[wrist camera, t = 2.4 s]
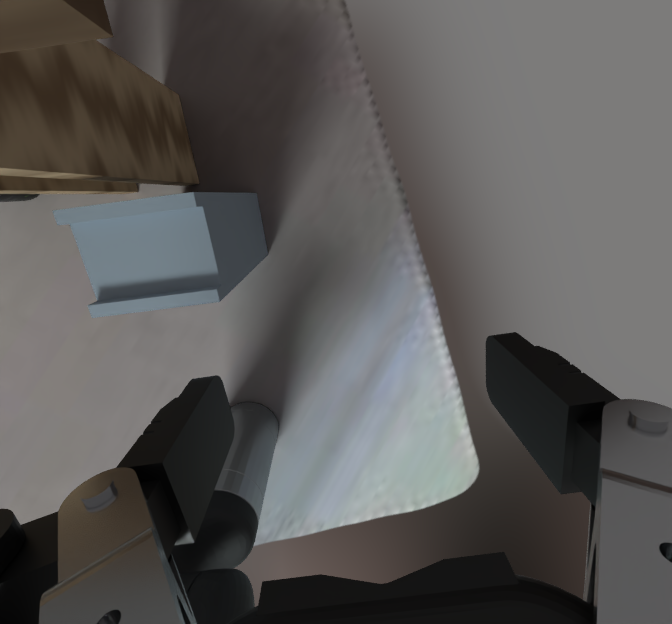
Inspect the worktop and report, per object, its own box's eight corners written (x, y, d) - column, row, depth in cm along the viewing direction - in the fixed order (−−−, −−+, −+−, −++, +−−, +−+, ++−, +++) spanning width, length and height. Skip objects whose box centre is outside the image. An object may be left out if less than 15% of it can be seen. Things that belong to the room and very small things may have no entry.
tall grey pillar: (268, 254, 48) (219, 301, 27) (196, 263, 48) (92, 317, 27) (256, 192, 45) (193, 192, 24) (180, 203, 45) (52, 210, 24)
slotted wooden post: (199, 183, 45) (-75, 162, 14) (123, 193, 45) (-306, 193, 15) (178, 94, 42) (-231, -175, 11) (96, 106, 42) (-522, -127, 11)
